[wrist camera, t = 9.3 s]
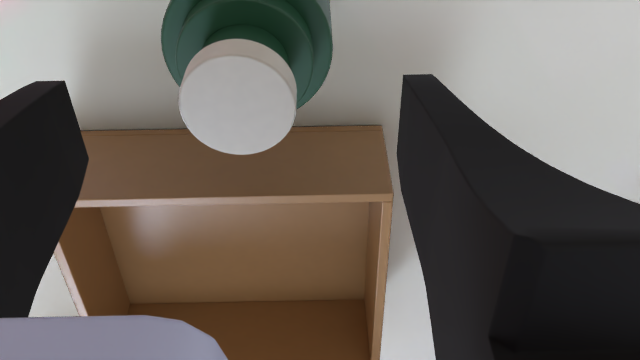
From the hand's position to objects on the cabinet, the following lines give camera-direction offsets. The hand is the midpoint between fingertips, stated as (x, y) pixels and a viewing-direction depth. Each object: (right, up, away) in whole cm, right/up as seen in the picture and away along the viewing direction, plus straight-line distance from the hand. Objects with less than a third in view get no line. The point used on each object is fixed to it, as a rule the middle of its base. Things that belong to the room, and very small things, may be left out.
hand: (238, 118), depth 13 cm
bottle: (0, +6, +7) cm, 10 cm away
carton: (-2, -3, +15) cm, 15 cm away
